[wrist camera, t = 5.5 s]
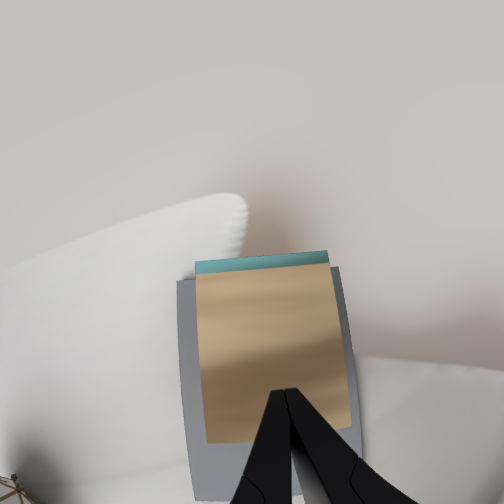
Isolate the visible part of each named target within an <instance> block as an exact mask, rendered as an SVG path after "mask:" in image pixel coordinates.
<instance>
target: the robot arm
mask: <svg viewBox="0 0 504 504" xmlns="http://www.w3.org/2000/svg"><path fill="white" fill-rule="evenodd" d="M358 456H359V455H358V454H357V453H356V452H355V451H354V450H353V449H352V448H351V447H350V446H349V445H348V444H347V443H346V441H345V440H344V439H343V438H342V437H341V436H340V435H339V434H338V433H337V432H336V431H335V430H334V429H333V427H332V426H331V425H330V424H329V423H328V422H327V421H326V420H325V419H324V417H323V416H322V415H321V414H320V413H319V412H318V411H317V410H316V409H315V407H314V406H313V405H312V404H311V403H310V402H309V401H308V399H307V398H306V397H305V396H304V395H303V394H302V393H301V391H300V390H299V389H298V388H296V387H292V388H285V389H284V390H283V389H275V390H271V391H270V393H269V397H268V400H267V403H266V406H265V409H264V412H263V416H262V419H261V422H260V425H259V428H258V431H257V434H256V437H255V440H254V443H253V445H252V448H251V451H250V454H249V457H248V460H247V463H246V465H245V468H244V471H243V474H242V475H243V476H241V479H240V481H239V484H238V486H237V489H236V491H235V493H234V496H233V498H232V500H231V502H230V504H292V459H293V463H294V466H295V470H296V473H297V476H298V480H299V483H300V487H301V490H302V493H303V497H304V500H305V503H306V504H419V503H417V502H415V501H414V500H412V499H411V498H409V497H408V496H407V495H405V494H404V493H402V492H401V491H399V490H398V489H397V488H395V487H394V486H392V485H391V484H390V483H388V482H387V481H386V480H385V479H383V478H382V477H381V476H380V475H378V474H377V473H376V472H375V471H374V470H373V469H372V468H371V467H370V466H369V465H368V464H367V463H366V462H365V461H364V460H363V459H362V458H361V457H358Z"/></svg>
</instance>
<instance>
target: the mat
mask: <svg viewBox="0 0 504 504" xmlns="http://www.w3.org/2000/svg"><path fill="white" fill-rule="evenodd" d="M330 269H331V275H332V280H333V286H334V291H335V297H336V303H337V309H338V315H339V321H340V328H341V335H342V342H343V349H344V357H345V365H346V373H347V382H348V391H349V401H350V412H351V424H352V426H350V427H346V428H342V429H337V430H335V431H336V432H337V433H338V434H339V435H340V436H341V437H342V438H343V439H344V440H345V441H346V443H347V444H348V445H349V446H350V447H351V448H352V449H353V450H354V451H355V452H356V453H357V454H358V455H359V456H358V457H361V458H362V442H361V426H360V413H359V402H358V392H357V382H356V373H355V365H354V357H353V350H352V343H351V337H350V329H349V324H348V317H347V311H346V305H345V299H344V294H343V288H342V283H341V278H340V272H339V268H338V267H330ZM177 323H178V348H179V366H180V381H181V394H182V405H183V416H184V425H185V434H186V443H187V451H188V458H189V465H190V472H191V479H192V485H193V491H194V497H195V501H231V500H232V498H233V496H234V493H235V491H236V489H237V486H238V484H239V481H240V479H241V476H243V475H242V474H243V471H244V468H245V465H246V463H247V460H248V457H249V454H250V451H251V448H252V445H253V443H254V442H243V443H221V444H207V439H206V430H205V421H204V411H203V400H202V389H201V377H200V363H199V348H198V330H197V308H196V279H193V280H179V281H177ZM302 494H303V493H302V490H301V487H300V483H299V480H298V476H297V473H296V470H295V466H294V463H293V459H292V496H296V495H302Z"/></svg>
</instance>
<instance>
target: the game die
mask: <svg viewBox="0 0 504 504" xmlns="http://www.w3.org/2000/svg"><path fill="white" fill-rule="evenodd" d="M11 478H12V479H8V478H4V477H1V476H0V504H35V503H34V502H33V501H32V500H31V499H30V498H29V497H28V496H27V494H26V493H25V492H24V491H23V490H24V488H23V485H22V484H17V483H16V482H15V481H16V479H17V477H16V473H15V474H13V475H12V477H11Z"/></svg>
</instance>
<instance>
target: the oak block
mask: <svg viewBox="0 0 504 504" xmlns="http://www.w3.org/2000/svg"><path fill="white" fill-rule="evenodd" d="M195 277H196V308H197V330H198V348H199V363H200V377H201V389H202V400H203V411H204V421H205V430H206V439H207V444H221V443H243V442H254V440H255V437H256V434H257V431H258V428H259V425H260V422H261V419H262V416H263V412H264V409H265V406H266V403H267V400H268V397H269V393H270V391H271V390H275V389H283V390H284V389H285V388H292V387H296V388H298V389H299V390H300V391H301V393H302V394H303V395H304V396H305V397H306V398H307V399H308V401H309V402H310V403H311V404H312V405H313V406H314V407H315V409H316V410H317V411H318V412H319V413H320V414H321V415H322V416H323V417H324V419H325V420H326V421H327V422H328V423H329V424H330V425H331V426H332V427H333V429H334V430H337V429H342V428H346V427H350V426H352V424H351V412H350V401H349V391H348V382H347V373H346V365H345V357H344V349H343V342H342V335H341V328H340V321H339V315H338V309H337V303H336V297H335V291H334V286H333V280H332V275H331V269H330V265H329V258H328V253H327V250H326V251H316V252H303V253H292V254H282V255H269V256H258V257H245V258H233V259H221V260H209V261H197V262H195Z"/></svg>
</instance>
